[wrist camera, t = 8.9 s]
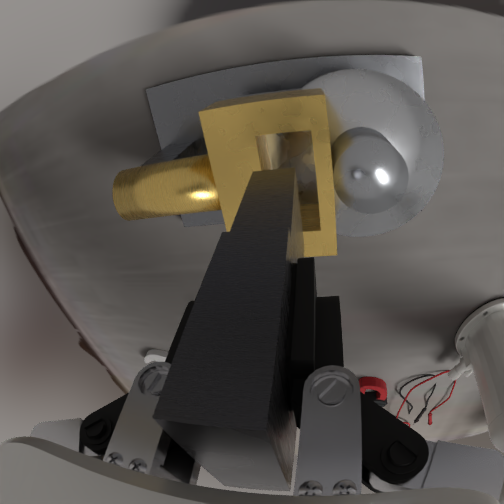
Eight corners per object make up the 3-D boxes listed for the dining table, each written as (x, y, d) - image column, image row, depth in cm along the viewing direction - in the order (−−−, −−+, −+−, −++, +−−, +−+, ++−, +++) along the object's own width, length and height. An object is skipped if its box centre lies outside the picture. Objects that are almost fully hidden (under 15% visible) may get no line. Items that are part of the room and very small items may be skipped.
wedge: (294, 159, 14) (265, 430, 4) (304, 252, 17) (290, 491, 7) (251, 163, 14) (152, 417, 5) (268, 254, 17) (224, 485, 8)
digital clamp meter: (334, 448, 58) (352, 395, 44) (334, 431, 62) (351, 372, 48) (431, 441, 54) (479, 384, 40) (429, 424, 57) (473, 364, 43)
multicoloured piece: (415, 56, 21) (474, 62, 12) (417, 204, 29) (455, 271, 20) (152, 87, 27) (83, 111, 18) (188, 220, 35) (148, 286, 26)
